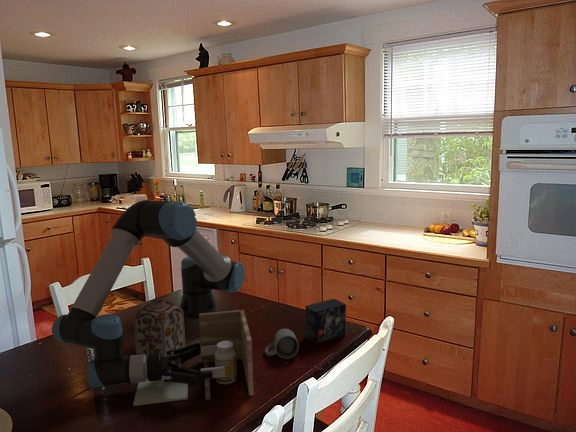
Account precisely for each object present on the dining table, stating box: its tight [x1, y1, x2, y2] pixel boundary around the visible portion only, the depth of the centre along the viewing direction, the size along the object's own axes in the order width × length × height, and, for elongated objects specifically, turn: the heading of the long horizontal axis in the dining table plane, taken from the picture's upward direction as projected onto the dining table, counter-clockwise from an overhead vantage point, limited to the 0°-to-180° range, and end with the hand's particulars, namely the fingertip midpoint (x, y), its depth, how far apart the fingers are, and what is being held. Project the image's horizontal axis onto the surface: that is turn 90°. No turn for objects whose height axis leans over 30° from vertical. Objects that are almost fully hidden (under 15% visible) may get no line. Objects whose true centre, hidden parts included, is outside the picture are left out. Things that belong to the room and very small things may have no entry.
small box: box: [304, 298, 347, 345], centre depth 159 cm, size 13×7×12 cm, turn 123°
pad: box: [133, 377, 189, 406], centre depth 130 cm, size 16×14×1 cm
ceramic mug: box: [264, 328, 300, 360], centre depth 148 cm, size 11×8×8 cm
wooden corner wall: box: [199, 309, 255, 402], centre depth 133 cm, size 23×14×16 cm, turn 11°
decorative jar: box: [133, 298, 186, 357], centre depth 149 cm, size 12×12×18 cm
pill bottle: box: [214, 341, 238, 385], centre depth 132 cm, size 6×6×11 cm
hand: (223, 359), depth 131 cm, fingers open, 13 cm apart
